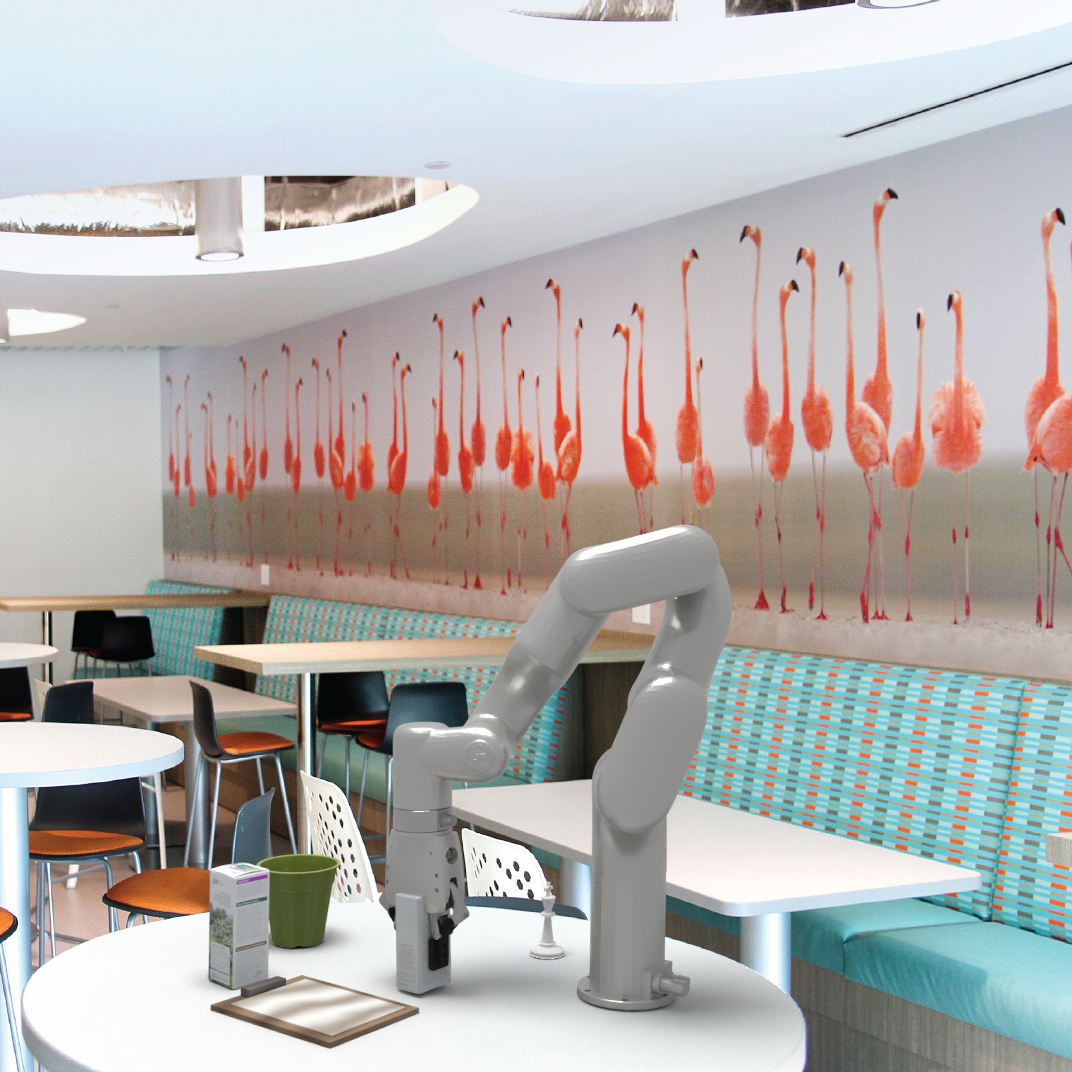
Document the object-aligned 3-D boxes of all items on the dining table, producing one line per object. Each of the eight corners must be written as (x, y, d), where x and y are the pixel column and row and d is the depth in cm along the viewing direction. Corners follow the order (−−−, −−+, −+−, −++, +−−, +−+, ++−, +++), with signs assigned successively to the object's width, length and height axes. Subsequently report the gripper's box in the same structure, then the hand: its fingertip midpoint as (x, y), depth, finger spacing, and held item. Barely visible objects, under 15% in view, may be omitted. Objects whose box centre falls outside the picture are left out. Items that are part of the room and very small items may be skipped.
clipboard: (418, 1012, 156) (419, 999, 156) (329, 1048, 144) (330, 1033, 144) (301, 979, 168) (302, 967, 168) (210, 1009, 156) (210, 996, 156)
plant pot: (270, 928, 192) (272, 851, 192) (348, 933, 190) (350, 856, 190) (241, 951, 180) (243, 869, 180) (324, 956, 178) (326, 874, 179)
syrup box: (270, 981, 167) (272, 867, 168) (230, 991, 163) (233, 874, 163) (244, 971, 171) (247, 860, 172) (205, 980, 167) (208, 867, 167)
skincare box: (427, 976, 169) (427, 884, 169) (451, 983, 166) (451, 889, 166) (394, 988, 164) (394, 893, 164) (418, 995, 161) (418, 898, 162)
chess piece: (571, 953, 182) (572, 881, 182) (552, 962, 178) (554, 888, 178) (541, 947, 185) (543, 876, 185) (522, 955, 181) (524, 883, 181)
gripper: (493, 822, 164) (493, 968, 163) (393, 809, 174) (393, 947, 173) (455, 832, 158) (455, 984, 157) (354, 817, 168) (354, 960, 167)
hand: (423, 963), depth 165 cm, fingers closed on skincare box, 4 cm apart
